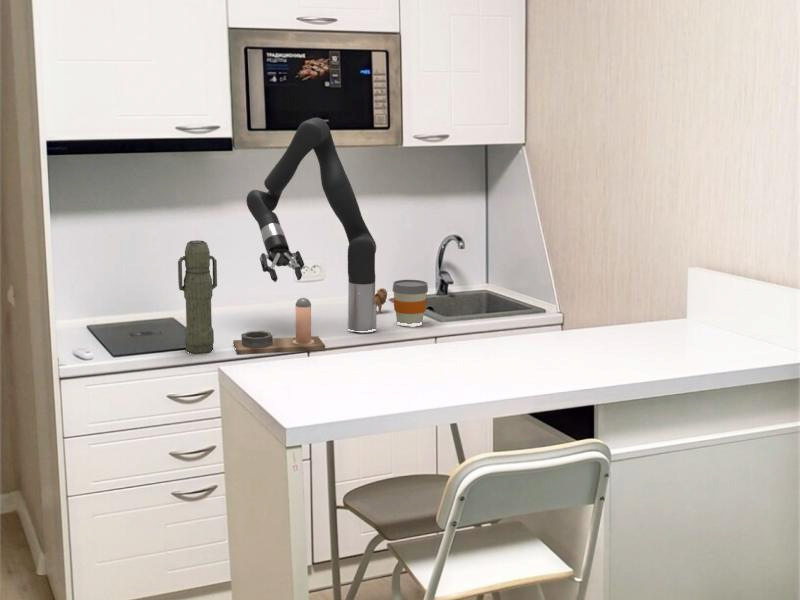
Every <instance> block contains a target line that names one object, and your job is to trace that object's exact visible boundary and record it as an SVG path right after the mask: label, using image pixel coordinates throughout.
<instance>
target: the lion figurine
mask: <svg viewBox="0 0 800 600" xmlns="http://www.w3.org/2000/svg"><path fill="white" fill-rule="evenodd" d="M387 298H388V291H387V290H386V289H385V288H382V287H380V288H378V289H377V291H376V292H375V304H376V306H377V308H378V309H377V313H378V314H379V313H382V314H383V312H382V307H383V305H385V303H386V301H387Z"/></svg>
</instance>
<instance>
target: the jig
mask: <svg viewBox="0 0 800 600" xmlns="http://www.w3.org/2000/svg"><path fill="white" fill-rule="evenodd" d="M240 336H241V339H233V342H232V345H233V344H234V345H233V347H234V346H235V348H236V350H235V353H236V355H253V354H255V355H257V354H273V353H274V354H275V353H276V354H277V353H291V352H293V353H295V352H309V351H310V352H312V351H326V345H325V343H324V342H323V340H322V339H321V338H320V337H319V336H318V335H315V336H313V335H311V342H310V343H305V344H301V343H296V336H295V337H292V336H291V337H277V338H275V337H273V334H272V333H271V332H270V331H269V332H268V331H263V330H257V331H255V330H254V331H253V330H252V331H247V332H244V333H241V335H240ZM235 348H234V349H235Z"/></svg>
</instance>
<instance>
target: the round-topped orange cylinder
mask: <svg viewBox="0 0 800 600" xmlns="http://www.w3.org/2000/svg"><path fill="white" fill-rule="evenodd" d="M311 303H312V302H311V301H310V300H309V299H308V298H306V297H300V298H298V299H297V300H296V302H295V337H296V343H301V344H305V343H310V342H311V336H312V304H311Z"/></svg>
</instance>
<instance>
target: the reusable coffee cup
mask: <svg viewBox="0 0 800 600" xmlns="http://www.w3.org/2000/svg"><path fill="white" fill-rule="evenodd" d="M392 292H393V298H392V301H393V308H394V309H393V310H394V312H395V317H396V323H397V322H400V323H407V324H412V323H420V322H422V321H423V320H424V314H425V312H426V309H427V301H428V299H427V293H428V292H429V287H428V282H427V281H424V280H420V279H419V280H418V279H398V280H396V281H393V285H392ZM423 322H424V321H423ZM423 322H422V323H423Z"/></svg>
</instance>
